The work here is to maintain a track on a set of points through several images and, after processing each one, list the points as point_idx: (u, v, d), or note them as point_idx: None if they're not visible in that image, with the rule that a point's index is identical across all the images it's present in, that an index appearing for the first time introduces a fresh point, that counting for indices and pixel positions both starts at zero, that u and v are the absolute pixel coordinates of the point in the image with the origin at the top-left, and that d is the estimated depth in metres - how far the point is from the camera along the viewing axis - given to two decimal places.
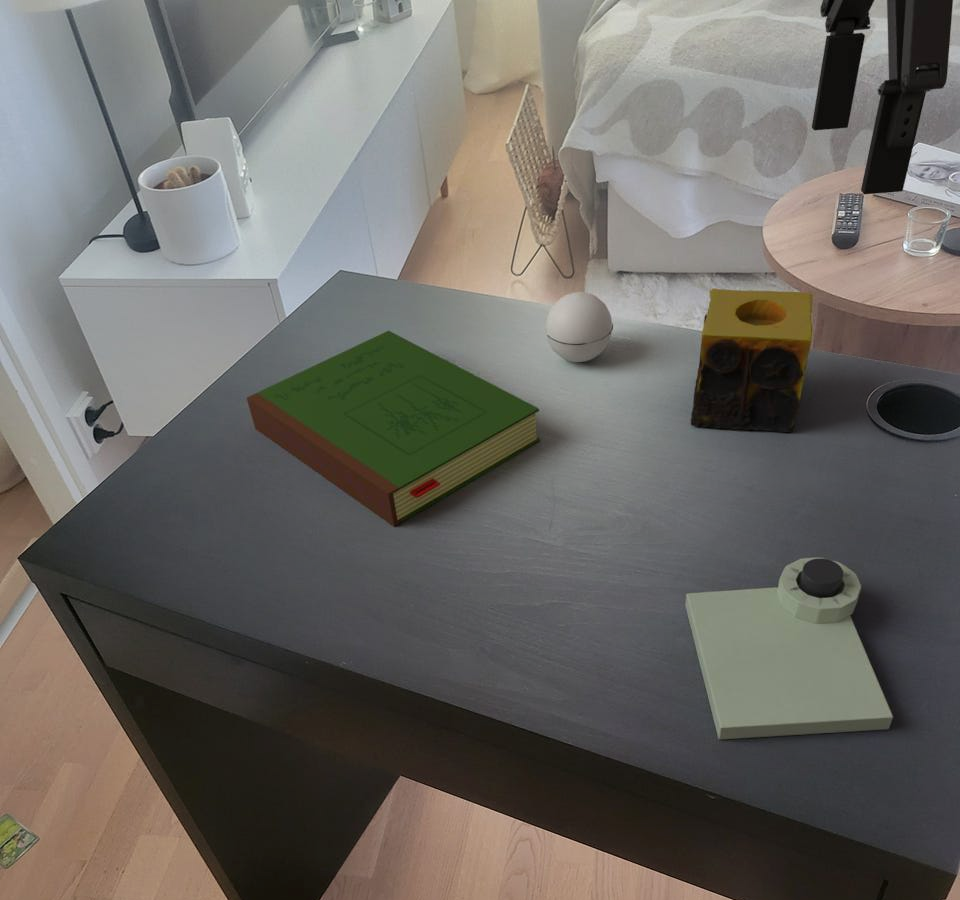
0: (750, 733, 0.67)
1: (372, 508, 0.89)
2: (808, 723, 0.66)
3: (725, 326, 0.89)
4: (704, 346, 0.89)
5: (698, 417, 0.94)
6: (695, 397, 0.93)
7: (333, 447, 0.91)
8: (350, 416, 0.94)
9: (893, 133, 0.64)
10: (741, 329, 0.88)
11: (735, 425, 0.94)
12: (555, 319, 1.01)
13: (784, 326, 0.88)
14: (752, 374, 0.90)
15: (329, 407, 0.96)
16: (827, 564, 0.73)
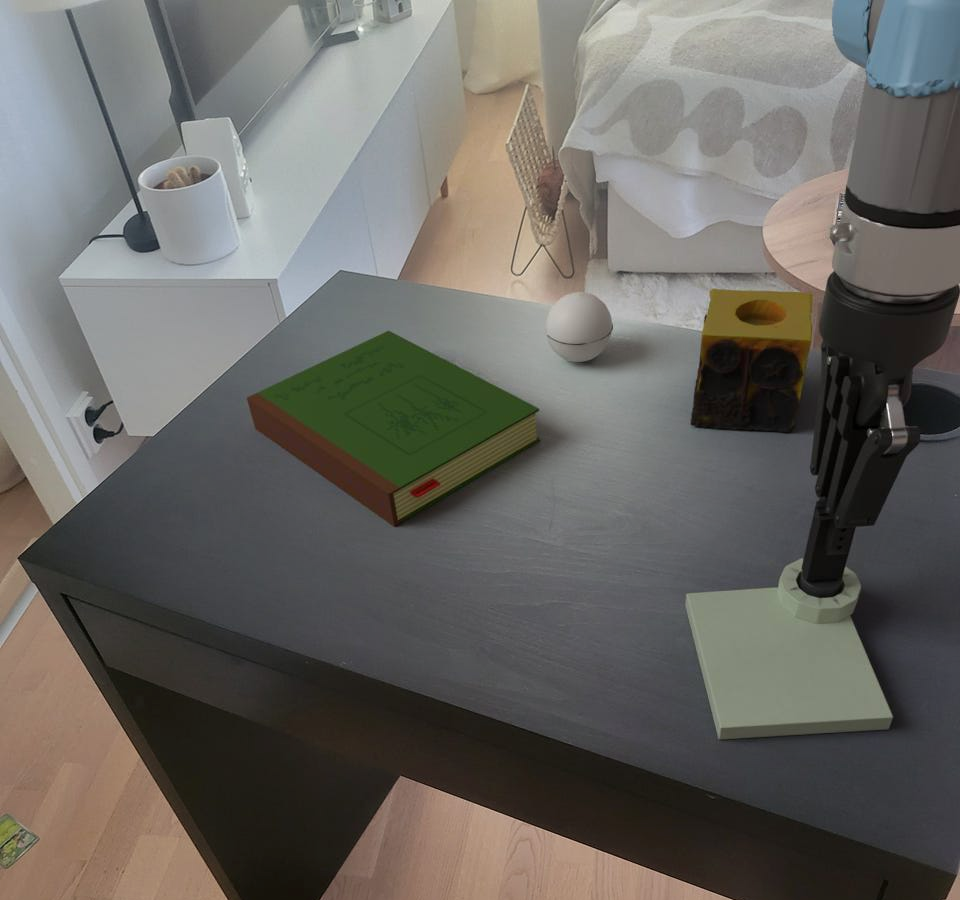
0: (750, 733, 0.67)
1: (372, 508, 0.89)
2: (808, 723, 0.66)
3: (725, 326, 0.89)
4: (704, 346, 0.89)
5: (698, 417, 0.94)
6: (695, 397, 0.93)
7: (333, 447, 0.91)
8: (351, 416, 0.94)
9: (830, 546, 0.69)
10: (741, 329, 0.88)
11: (735, 425, 0.94)
12: (555, 319, 1.01)
13: (784, 326, 0.88)
14: (752, 374, 0.90)
15: (329, 407, 0.96)
16: None
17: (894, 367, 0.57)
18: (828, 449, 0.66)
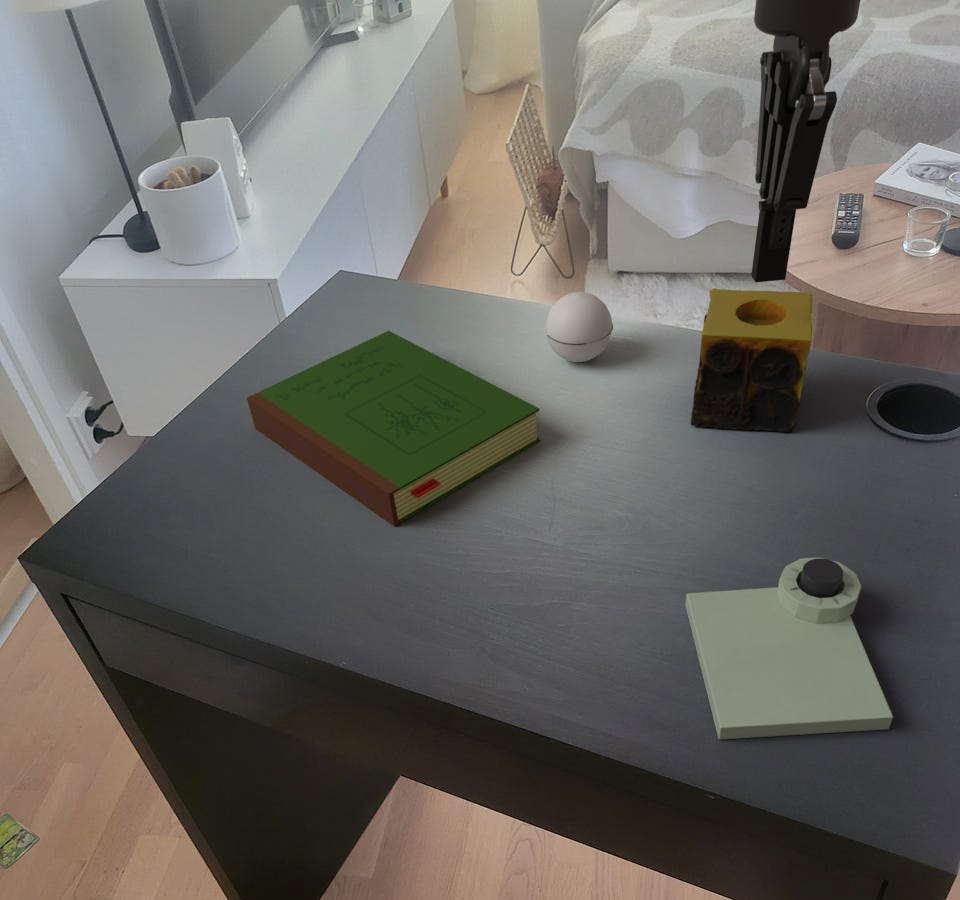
0: (750, 733, 0.67)
1: (372, 508, 0.89)
2: (808, 723, 0.66)
3: (725, 326, 0.89)
4: (704, 346, 0.89)
5: (698, 417, 0.94)
6: (695, 397, 0.93)
7: (333, 447, 0.91)
8: (351, 416, 0.94)
9: (772, 239, 0.82)
10: (741, 329, 0.88)
11: (735, 425, 0.94)
12: (555, 319, 1.01)
13: (784, 326, 0.88)
14: (751, 374, 0.90)
15: (329, 407, 0.96)
16: (827, 564, 0.73)
17: (813, 38, 0.69)
18: (768, 148, 0.79)
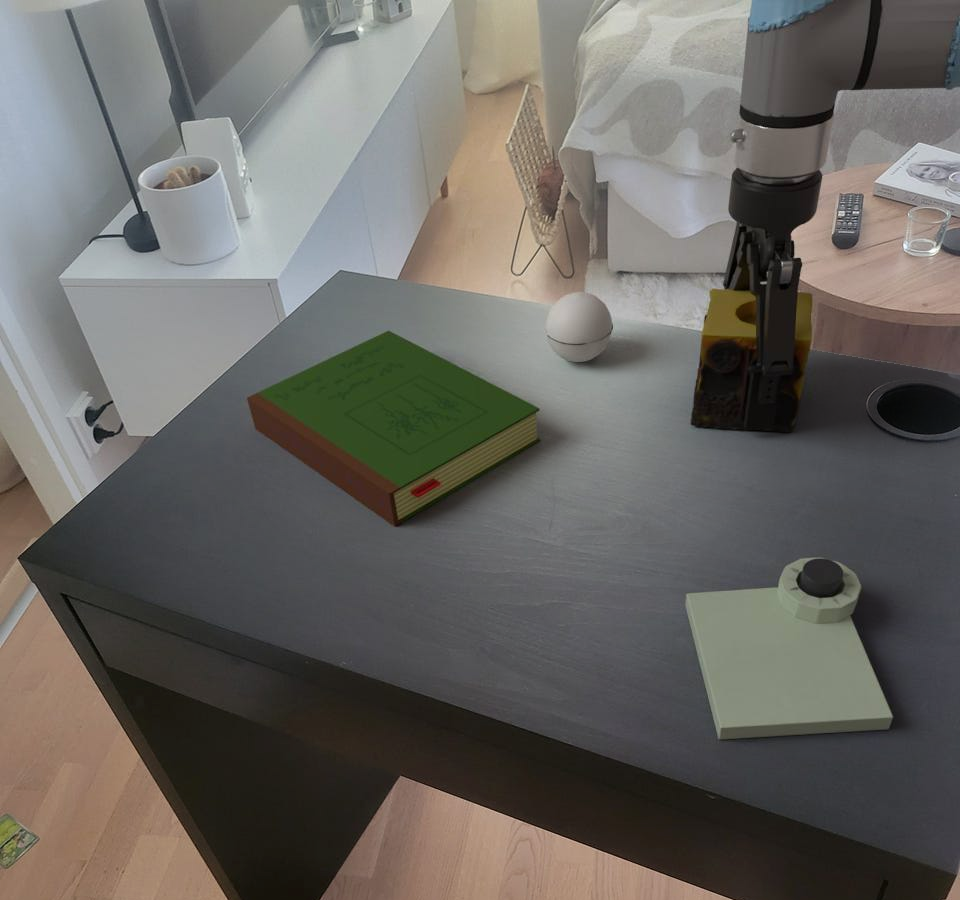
0: (750, 733, 0.67)
1: (373, 508, 0.89)
2: (808, 723, 0.66)
3: (725, 326, 0.89)
4: (704, 346, 0.89)
5: (699, 417, 0.94)
6: (695, 397, 0.93)
7: (333, 447, 0.91)
8: (351, 416, 0.94)
9: (761, 396, 0.88)
10: (741, 329, 0.88)
11: (735, 425, 0.94)
12: (555, 319, 1.01)
13: None
14: None
15: (329, 407, 0.96)
16: (827, 564, 0.73)
17: (777, 231, 0.81)
18: (735, 280, 0.93)
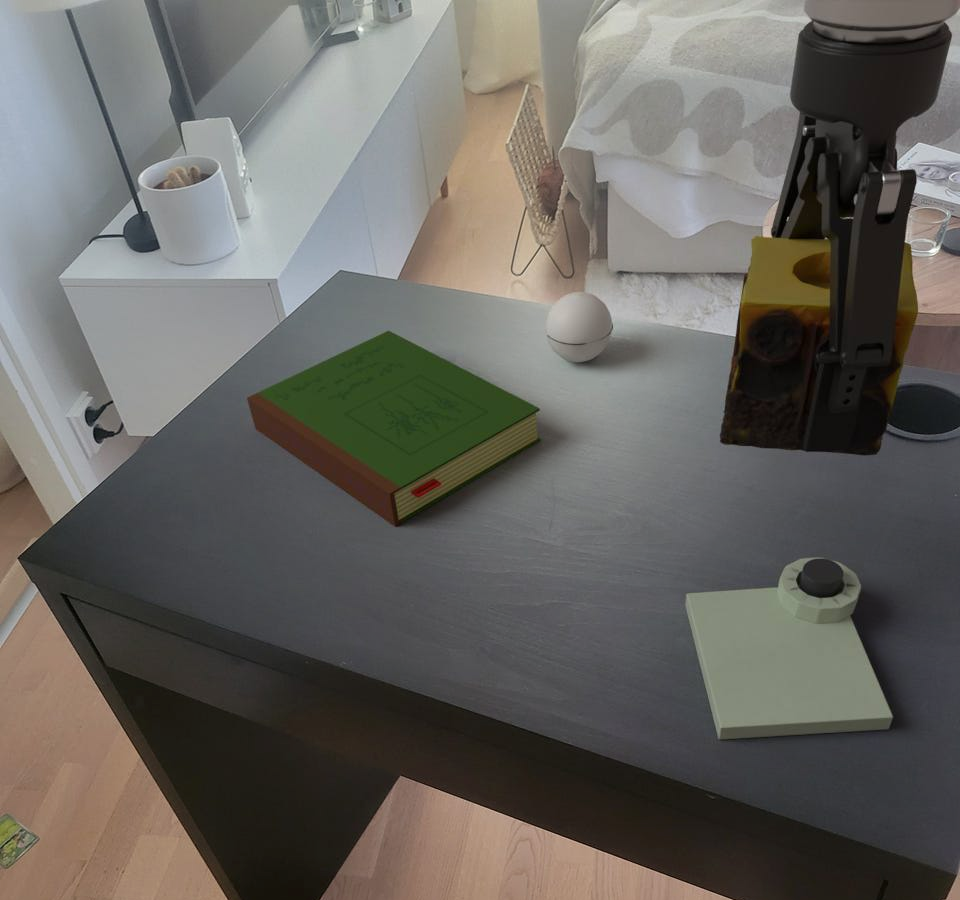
0: (750, 733, 0.67)
1: (373, 508, 0.89)
2: (808, 723, 0.66)
3: (777, 290, 0.57)
4: (744, 321, 0.57)
5: (732, 431, 0.62)
6: (728, 401, 0.60)
7: (333, 447, 0.91)
8: (351, 416, 0.94)
9: (835, 400, 0.56)
10: (804, 294, 0.56)
11: (788, 444, 0.61)
12: (555, 319, 1.01)
13: None
14: (818, 366, 0.57)
15: (329, 407, 0.96)
16: (827, 564, 0.73)
17: (874, 127, 0.49)
18: (793, 222, 0.60)
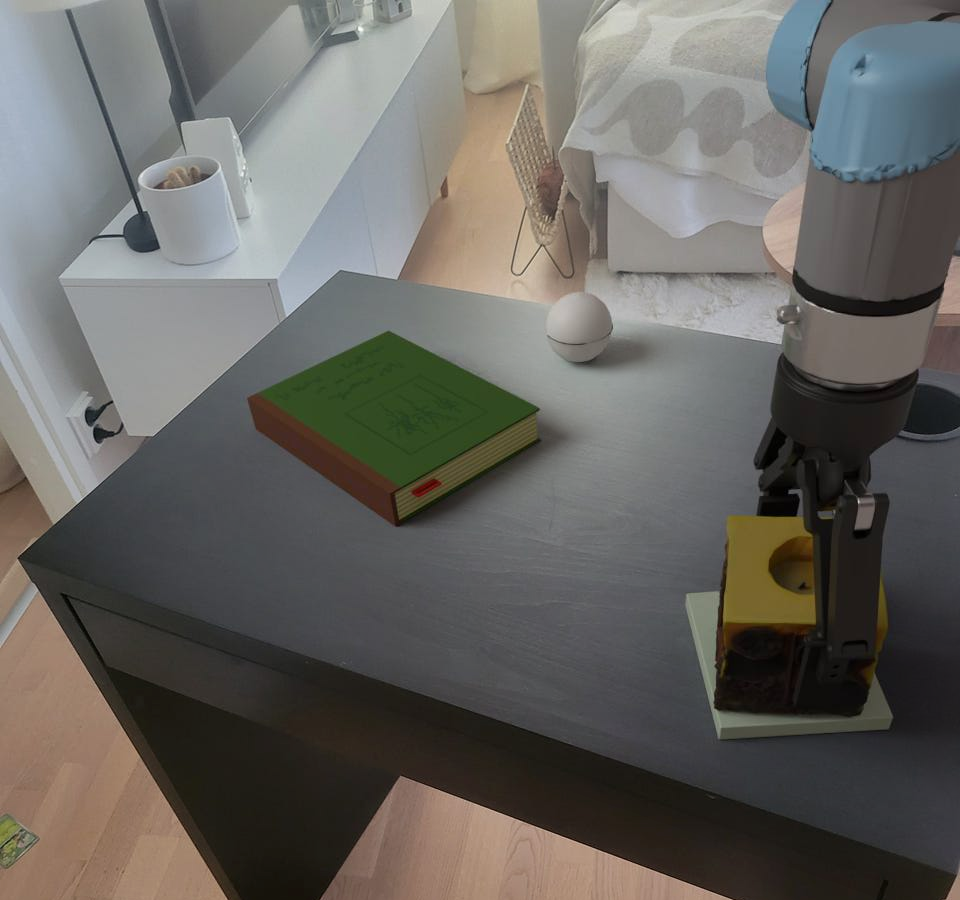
0: (750, 733, 0.67)
1: (373, 508, 0.89)
2: (808, 723, 0.66)
3: (756, 600, 0.61)
4: (728, 633, 0.61)
5: (725, 702, 0.66)
6: (718, 682, 0.65)
7: (334, 447, 0.91)
8: (351, 416, 0.94)
9: (822, 674, 0.59)
10: (781, 605, 0.60)
11: (777, 710, 0.66)
12: (555, 319, 1.01)
13: None
14: (799, 661, 0.62)
15: (330, 407, 0.96)
16: None
17: (848, 455, 0.53)
18: (774, 474, 0.64)
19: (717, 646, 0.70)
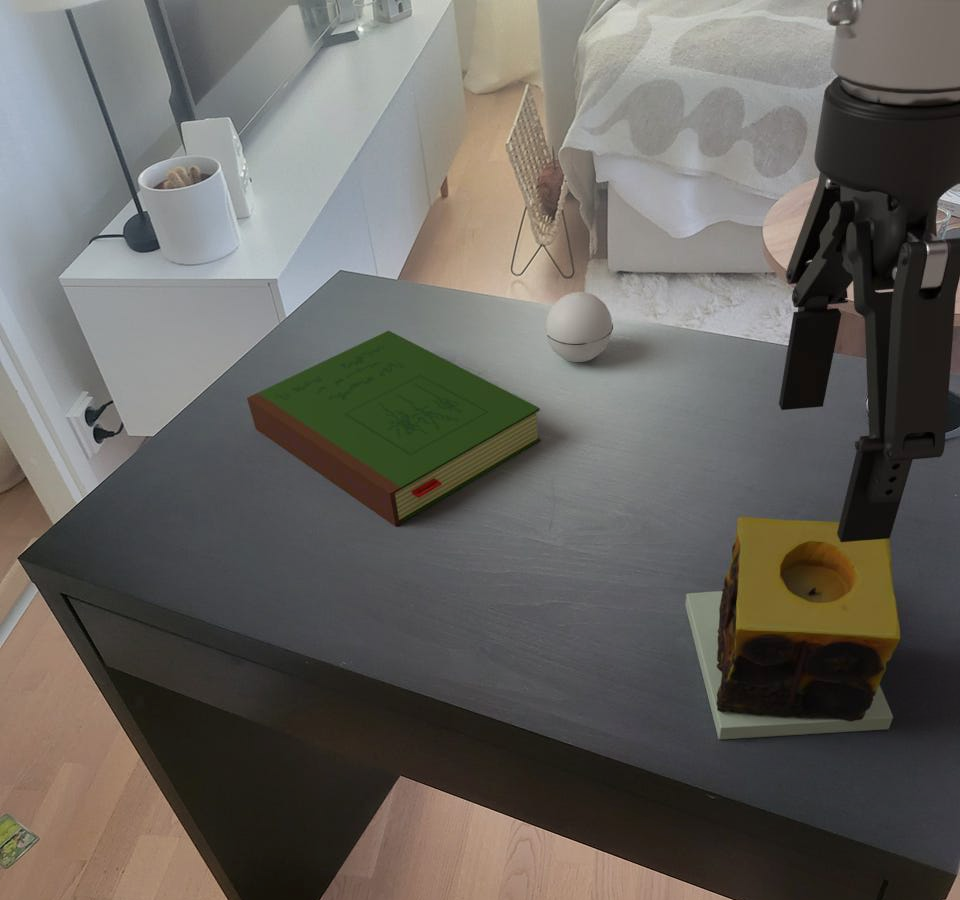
0: (750, 733, 0.67)
1: (373, 508, 0.89)
2: (808, 723, 0.66)
3: (769, 607, 0.60)
4: (739, 640, 0.60)
5: (729, 704, 0.66)
6: (724, 686, 0.65)
7: (334, 447, 0.91)
8: (351, 416, 0.94)
9: (876, 491, 0.49)
10: (793, 613, 0.60)
11: (780, 713, 0.66)
12: (555, 319, 1.01)
13: (856, 605, 0.60)
14: (808, 668, 0.62)
15: (330, 407, 0.96)
16: None
17: (913, 198, 0.43)
18: (813, 275, 0.55)
19: (720, 646, 0.69)
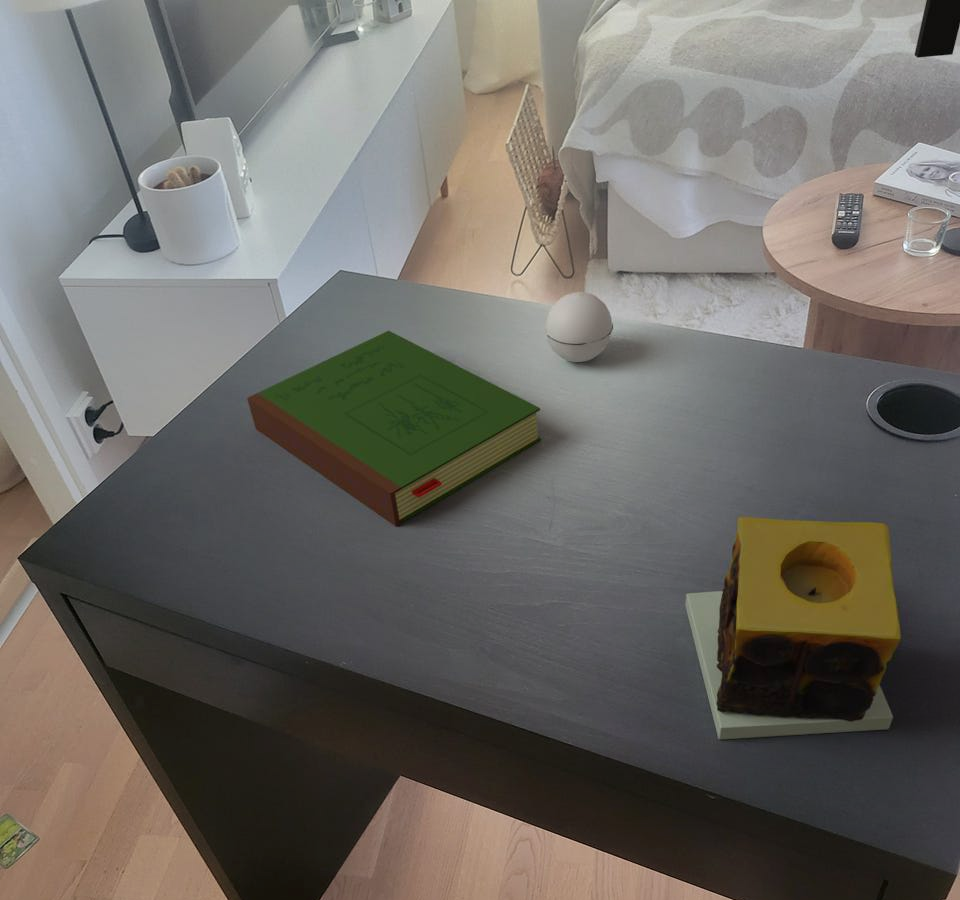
0: (750, 733, 0.67)
1: (374, 508, 0.89)
2: (808, 723, 0.66)
3: (769, 607, 0.60)
4: (740, 640, 0.60)
5: (729, 704, 0.66)
6: (724, 686, 0.65)
7: (334, 447, 0.91)
8: (351, 416, 0.94)
9: None
10: (794, 613, 0.60)
11: (780, 713, 0.66)
12: (555, 319, 1.01)
13: (856, 606, 0.60)
14: (808, 668, 0.62)
15: (330, 407, 0.96)
16: None
17: None
18: None
19: (720, 646, 0.69)
